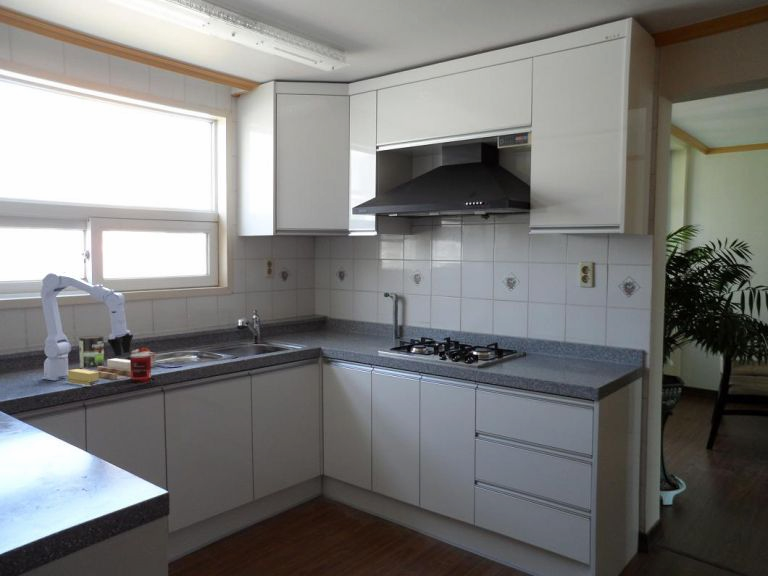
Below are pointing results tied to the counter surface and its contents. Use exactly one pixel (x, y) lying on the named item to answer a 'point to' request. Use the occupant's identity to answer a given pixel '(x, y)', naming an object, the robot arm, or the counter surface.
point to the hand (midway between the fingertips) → (122, 354)
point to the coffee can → (91, 351)
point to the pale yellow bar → (82, 376)
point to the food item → (146, 350)
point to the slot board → (111, 372)
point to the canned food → (140, 367)
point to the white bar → (119, 364)
